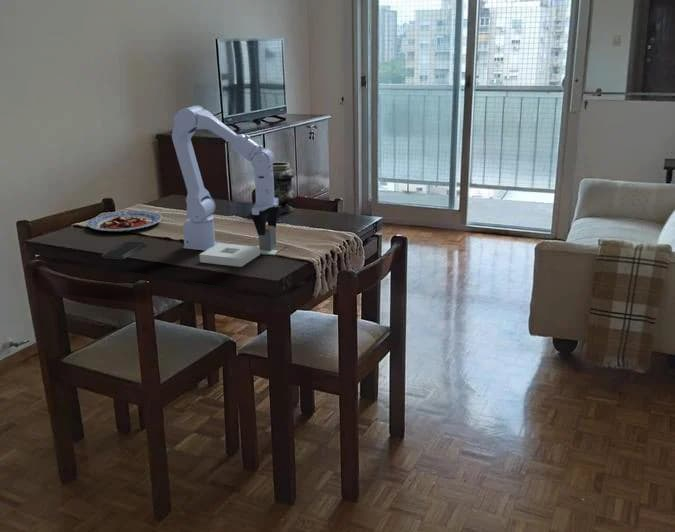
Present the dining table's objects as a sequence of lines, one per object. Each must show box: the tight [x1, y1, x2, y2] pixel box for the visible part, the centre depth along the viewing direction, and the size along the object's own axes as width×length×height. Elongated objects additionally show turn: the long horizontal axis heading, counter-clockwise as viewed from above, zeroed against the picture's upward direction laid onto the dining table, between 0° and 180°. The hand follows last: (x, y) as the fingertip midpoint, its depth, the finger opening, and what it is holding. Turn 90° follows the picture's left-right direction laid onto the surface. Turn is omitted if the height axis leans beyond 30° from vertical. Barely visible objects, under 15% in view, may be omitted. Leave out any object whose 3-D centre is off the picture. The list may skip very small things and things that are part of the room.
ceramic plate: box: [86, 210, 163, 233], centre depth 250 cm, size 26×26×3 cm
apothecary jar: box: [268, 161, 296, 214], centre depth 264 cm, size 12×12×18 cm
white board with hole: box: [199, 242, 261, 268], centre depth 212 cm, size 14×12×2 cm
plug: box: [258, 224, 277, 251], centre depth 219 cm, size 4×4×7 cm
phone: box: [101, 241, 147, 260], centre depth 221 cm, size 8×1×15 cm
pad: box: [255, 245, 281, 256], centre depth 220 cm, size 9×9×1 cm
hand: (266, 231), depth 218 cm, fingers open, 7 cm apart
